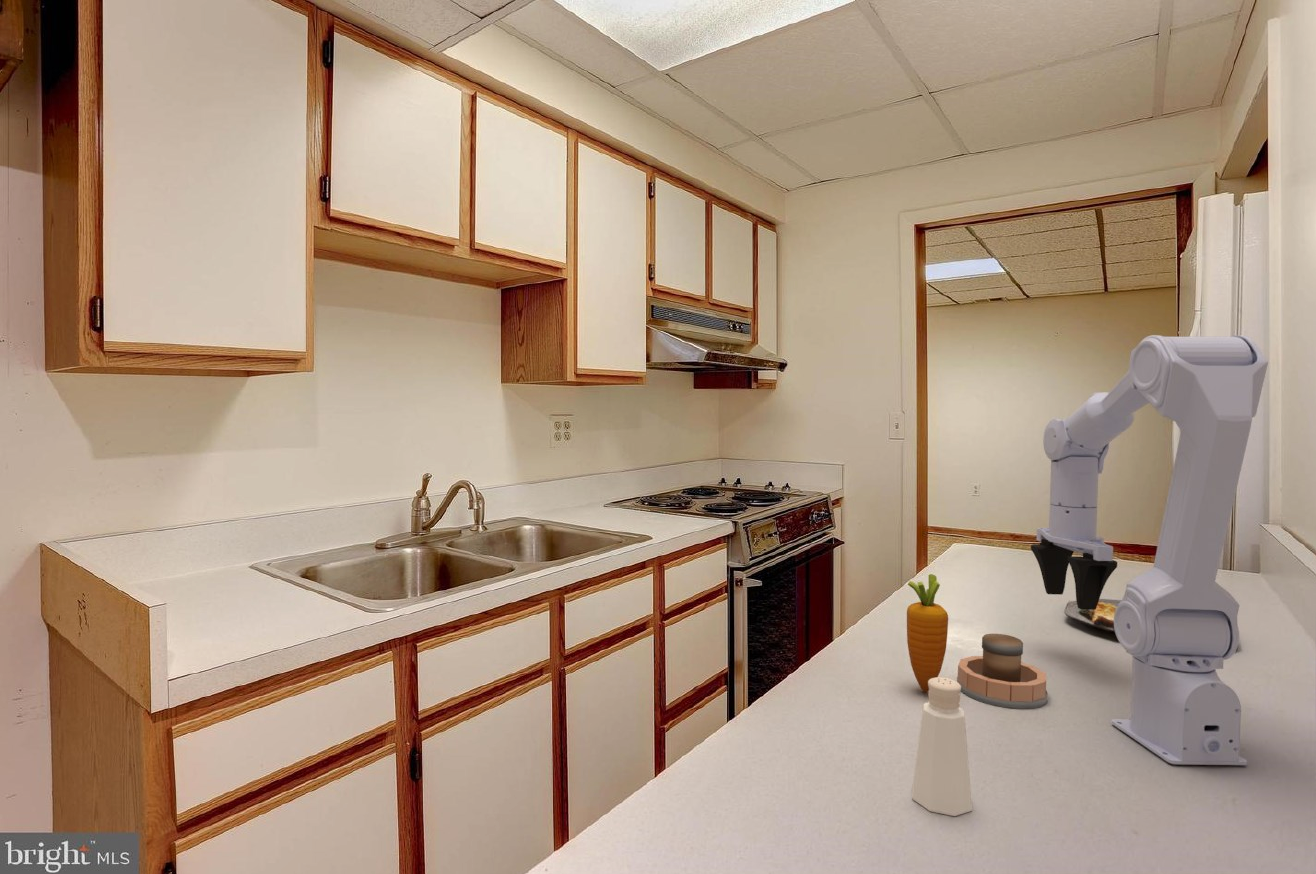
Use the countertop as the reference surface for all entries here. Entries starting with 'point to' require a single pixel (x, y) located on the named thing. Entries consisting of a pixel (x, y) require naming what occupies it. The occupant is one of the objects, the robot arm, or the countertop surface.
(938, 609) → the carrot
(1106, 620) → the food plate
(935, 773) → the salt shaker
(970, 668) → the coaster
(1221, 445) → the robot arm
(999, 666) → the walnut pepper mill
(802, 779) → the countertop surface
